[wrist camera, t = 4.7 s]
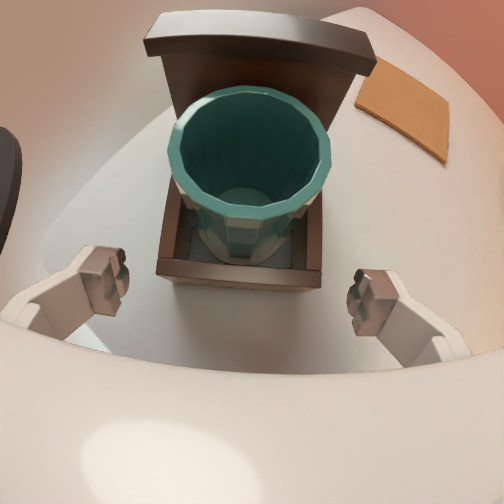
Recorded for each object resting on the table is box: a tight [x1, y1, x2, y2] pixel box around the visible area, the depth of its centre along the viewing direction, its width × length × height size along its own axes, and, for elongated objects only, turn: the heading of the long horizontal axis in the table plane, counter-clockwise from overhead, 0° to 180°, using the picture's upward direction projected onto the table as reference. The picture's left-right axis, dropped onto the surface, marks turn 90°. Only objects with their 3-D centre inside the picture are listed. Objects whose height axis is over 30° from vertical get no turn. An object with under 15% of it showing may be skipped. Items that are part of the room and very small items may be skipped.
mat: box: [354, 55, 449, 164], centre depth 25 cm, size 12×12×1 cm
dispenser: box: [143, 10, 377, 292], centre depth 15 cm, size 12×10×13 cm
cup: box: [167, 85, 331, 266], centre depth 15 cm, size 6×6×11 cm
